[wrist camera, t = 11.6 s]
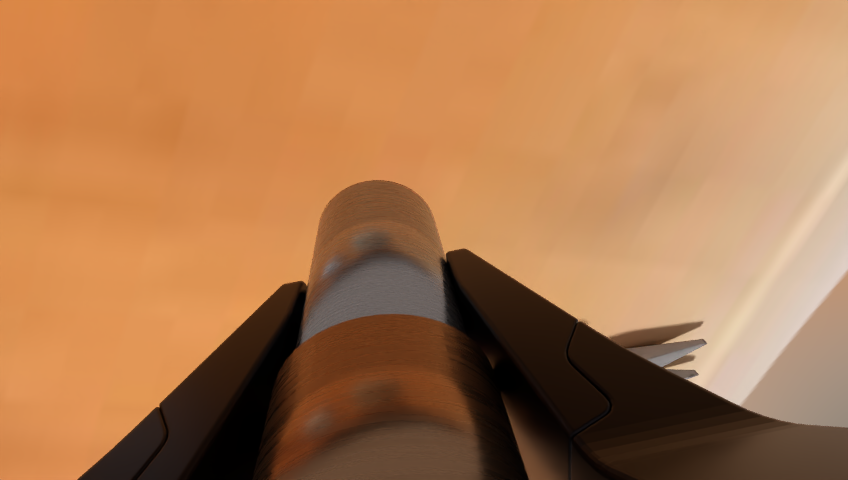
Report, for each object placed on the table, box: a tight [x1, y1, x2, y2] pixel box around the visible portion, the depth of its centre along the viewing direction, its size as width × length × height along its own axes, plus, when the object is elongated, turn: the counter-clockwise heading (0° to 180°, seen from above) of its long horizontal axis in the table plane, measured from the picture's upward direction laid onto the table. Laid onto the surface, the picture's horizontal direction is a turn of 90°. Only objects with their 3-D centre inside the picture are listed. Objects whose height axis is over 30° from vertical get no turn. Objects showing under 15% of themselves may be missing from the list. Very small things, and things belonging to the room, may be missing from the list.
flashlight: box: [252, 180, 529, 480], centre depth 7 cm, size 3×3×8 cm
